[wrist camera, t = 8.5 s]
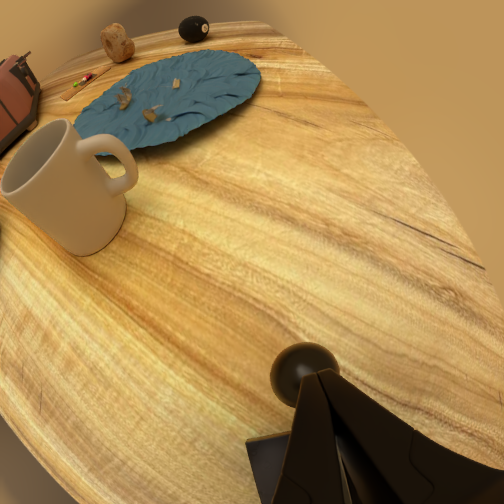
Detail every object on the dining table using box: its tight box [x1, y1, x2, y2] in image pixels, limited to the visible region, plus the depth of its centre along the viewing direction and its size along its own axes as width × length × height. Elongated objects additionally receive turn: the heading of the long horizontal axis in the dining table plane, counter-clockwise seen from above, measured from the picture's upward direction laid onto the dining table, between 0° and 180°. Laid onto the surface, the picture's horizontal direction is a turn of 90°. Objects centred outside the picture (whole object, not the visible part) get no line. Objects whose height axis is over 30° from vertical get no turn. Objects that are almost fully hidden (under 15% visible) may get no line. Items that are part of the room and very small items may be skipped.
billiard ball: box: [179, 16, 209, 42], centre depth 42 cm, size 6×6×6 cm
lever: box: [270, 342, 352, 504], centre depth 9 cm, size 12×3×3 cm, turn 13°
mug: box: [0, 118, 138, 256], centre depth 21 cm, size 12×8×11 cm
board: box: [60, 66, 111, 101], centre depth 45 cm, size 6×12×2 cm, turn 138°
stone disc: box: [101, 23, 135, 62], centre depth 42 cm, size 10×4×10 cm, turn 50°
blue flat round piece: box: [73, 49, 261, 156], centre depth 33 cm, size 30×30×5 cm
